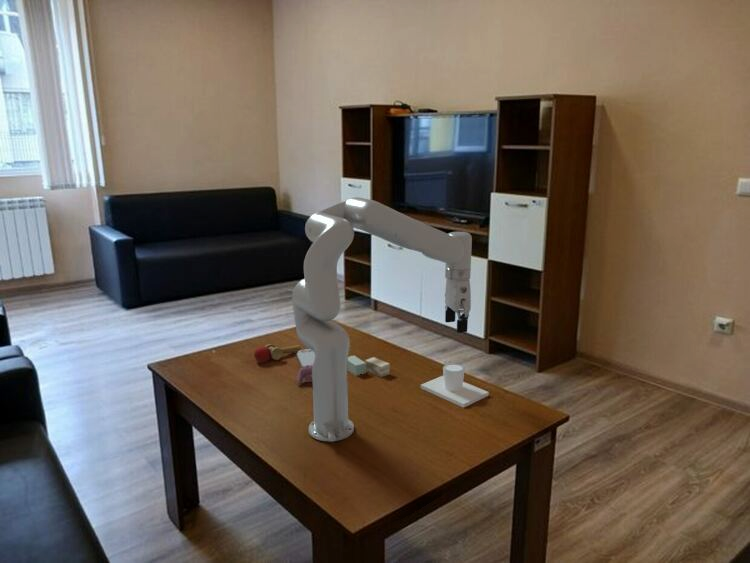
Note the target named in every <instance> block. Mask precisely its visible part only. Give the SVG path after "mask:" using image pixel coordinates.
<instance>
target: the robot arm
mask: <svg viewBox="0 0 750 563" xmlns="http://www.w3.org/2000/svg"><path fill="white" fill-rule="evenodd" d="M355 229H357V230H360V231H363V232H366V233H368V234H370V235H372V236H374V237H377V238H379V239H381V240H384V241H387V242H389V243H392V244H393V245H396V246H397V247H401V248H403V249H407V250H411V251H416V252H418V253H421V254H422V255H423V256H425V257H426V258H429V259H431V260H434V261H439V262H441V263H445V274H444V275H445V277H444V278H445V279H446V283H445V293H444V299H445V300H444V303H445V306H444V307H445V314H444V317H445V318H444V319H445V320H444V321H445V323H454V322H456V332H457V333H458V334H460V333H468V321H469V317H470V314H469V313H470V311H471V309H472V308H471V307H472V300H471V298H472V295H471V291H472V290H471V282H470V280H471V273H472V272H471V269H472V250H473V249H472V245H473V244H472V242H473V239H472V235H471V234H470V233H469V232H466V231H452V232H448V233H446V232H445V231H442V230H440V229H438V228H435V227H433V226H431V225H428V224H425V223H424V222H422V221H420V220H417V219H415V218H413V217H411V216H408V215H406V214H404V213H402V212H399V211H397V210H395V209H394V208H391V207H389V206H387V205H385V204H383V203H381V202H379V201H376V200H373V199H369V198H368V199H367V198H364V197H357V196H354V197H350V198H347V199H345V200H343V201H340V202H337V203H335V204H333V205H331V206H329V207H325V208H323V209H321V210H319V211H317V212H315V213H313V214H312V215H311V216H310V217H309V218H308V219H307V221H306V222H305V227H304V231H305V235H306V237H307V238H308V240H309V241H310V242H311V245H310V247H309V248H308V250H307V252H306V255H305V258H304V260H303V274H304V275H303V276H304V278H303V279H300V281H298V282H297V283H296V284H295V285H294V286H295V287H294V289H293V291H292V298H291V302H292V304H291V305H292V310H293V317H294V324H295V331H296V334H297V337H298V340H299V341H300V343H302V345H304V346H306V348H307V349H311V350H312V351H313V352H314V353H315V360H314V363H313V368H312V374H311V377H312V381H311V382H312V401H313V402H312V403H313V407H312V408H313V420H312V421H311V423H309V426H308V433H309V436H311V437H312V438H313V439H315V440H318V441H322V442H338V441H341V440H345V439H347V438H349V437H350V436H351V435H352V434H353V433H354V431H355V430H354V429H355V427H354V426H355V425H354V423H353V421H352V420H350V419H349V407H348V406H349V402H348V401H349V394H348V388H349V387H348V370H347V360H348V357H349V353H350V348H351V342H350V337H349V335H348V333H347V331H346V330H345V329H344V328H343V327H342V326H340V325H339V324H337V323H336V322H334V321H332V320H334V319H335V318H337V316H338V315H339V313H340V311H341V296H340V290H339V281H338V263H339V259H340V258H341V257H342V254H344V252H345V251H346V250H347V249H348V248H349V246H350V245H351V244H352V242H353V240H354V237H355ZM456 314H457V320H456Z"/></svg>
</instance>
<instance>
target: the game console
mask: <svg viewBox="0 0 750 563" xmlns="http://www.w3.org/2000/svg"><path fill="white" fill-rule="evenodd" d="M296 357H297V359H298V361H299V364H300V366H301V368H302V367H303V366H307V365H313V363H314V360H315V353H314V352H313V351H312V350H311V349H309V348H305V349H301V350H300V351H298V353H296Z"/></svg>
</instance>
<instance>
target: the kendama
mask: <svg viewBox="0 0 750 563" xmlns="http://www.w3.org/2000/svg"><path fill="white" fill-rule="evenodd" d="M300 350H302V347H301V345H300V344H296V345H292V346H286V347H282V348H280V347H278V346H277V347H276V346H275V345H273V344H270V343H269V344H266V345H261V346H258V347H256V348H255V350H254V351H253V352H254V353H253V356H254V359H255V360H256V362H257V363H260V364H265V363H267V362H268V361H270V360H271V359H273V360H274V361H275V360H277V361H278V360H280V359H282V357H283V354H297V353H298V351H300Z"/></svg>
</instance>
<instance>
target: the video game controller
mask: <svg viewBox="0 0 750 563" xmlns="http://www.w3.org/2000/svg"><path fill="white" fill-rule="evenodd" d="M312 368H313V365H307V366H303V367H302V366H301V367H300V369H299V370H298V373H297V380H296V382H297V386H298V387H299V386H302V384H303V380H304V381H305V382H306V383H310V382H313V381H312Z"/></svg>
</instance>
